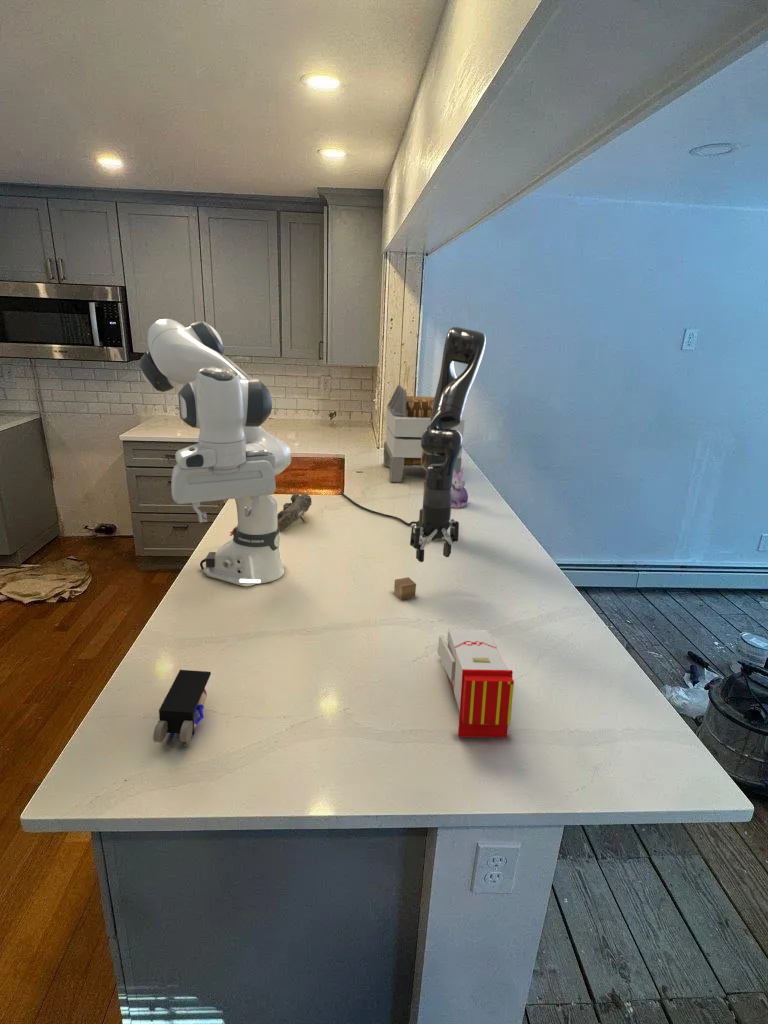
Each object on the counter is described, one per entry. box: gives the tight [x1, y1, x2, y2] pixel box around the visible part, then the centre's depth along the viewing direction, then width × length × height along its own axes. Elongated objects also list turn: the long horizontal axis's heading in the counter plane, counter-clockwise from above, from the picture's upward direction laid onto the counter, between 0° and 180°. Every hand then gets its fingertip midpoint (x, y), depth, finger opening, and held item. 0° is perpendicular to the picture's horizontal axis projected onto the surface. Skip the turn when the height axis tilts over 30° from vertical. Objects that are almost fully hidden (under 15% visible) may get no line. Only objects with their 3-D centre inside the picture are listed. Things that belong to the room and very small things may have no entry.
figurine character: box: [152, 669, 212, 747], centre depth 104 cm, size 7×8×15 cm
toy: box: [437, 628, 515, 738], centre depth 117 cm, size 12×13×30 cm
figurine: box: [451, 468, 469, 509], centre depth 230 cm, size 9×10×15 cm
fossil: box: [277, 493, 313, 531], centre depth 205 cm, size 22×10×15 cm
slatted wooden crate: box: [383, 384, 465, 483], centre depth 268 cm, size 34×33×41 cm
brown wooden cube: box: [393, 576, 417, 601], centre depth 157 cm, size 4×4×4 cm
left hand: (226, 518), depth 116 cm, fingers open, 8 cm apart
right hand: (433, 558), depth 157 cm, fingers open, 8 cm apart
